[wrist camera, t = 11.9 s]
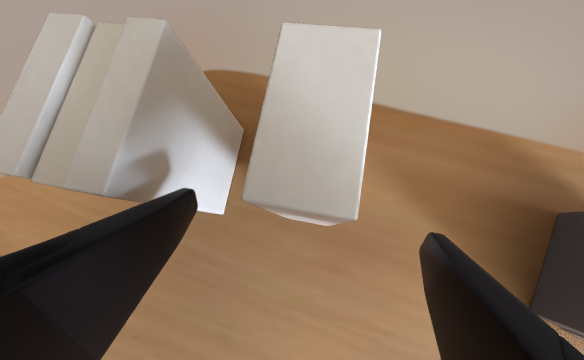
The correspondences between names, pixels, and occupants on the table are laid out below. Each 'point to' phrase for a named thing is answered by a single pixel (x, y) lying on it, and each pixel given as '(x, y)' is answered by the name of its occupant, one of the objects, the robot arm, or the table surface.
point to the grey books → (563, 276)
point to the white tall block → (314, 124)
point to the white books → (118, 115)
